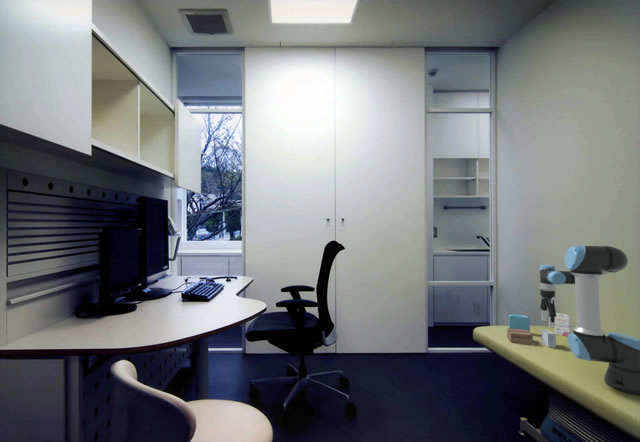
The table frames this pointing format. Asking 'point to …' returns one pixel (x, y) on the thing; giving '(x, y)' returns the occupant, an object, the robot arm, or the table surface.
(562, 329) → the ink cartridge box
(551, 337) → the medicine box
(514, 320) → the data package
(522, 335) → the walnut block
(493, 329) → the table surface
